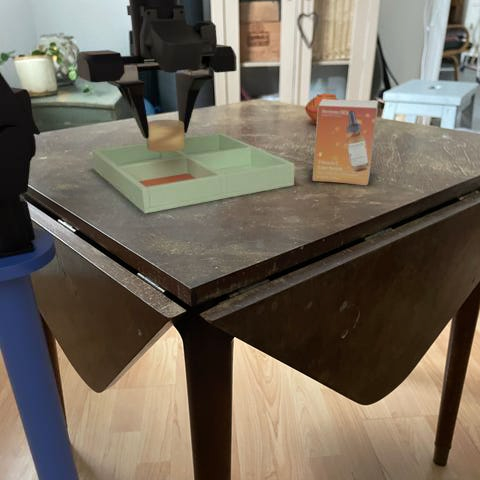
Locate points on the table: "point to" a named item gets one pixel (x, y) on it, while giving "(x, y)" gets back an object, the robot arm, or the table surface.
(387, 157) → the table surface
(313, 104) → the pot
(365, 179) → the small box
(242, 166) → the grid
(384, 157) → the table surface
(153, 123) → the cylinder
